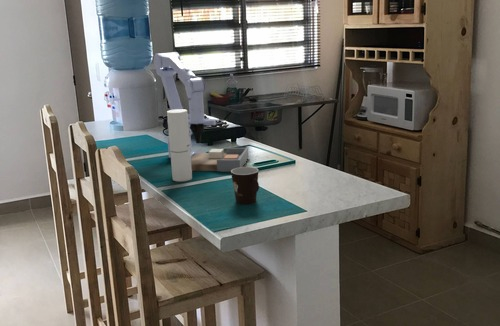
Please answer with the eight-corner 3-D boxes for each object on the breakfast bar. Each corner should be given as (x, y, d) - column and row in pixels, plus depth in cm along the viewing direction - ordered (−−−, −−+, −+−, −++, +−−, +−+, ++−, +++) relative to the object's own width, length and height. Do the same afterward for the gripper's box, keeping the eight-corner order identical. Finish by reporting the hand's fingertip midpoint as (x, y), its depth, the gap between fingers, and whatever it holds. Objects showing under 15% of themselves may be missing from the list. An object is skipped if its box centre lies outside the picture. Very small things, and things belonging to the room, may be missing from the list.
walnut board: (184, 170, 206) (184, 164, 205) (196, 158, 222) (195, 152, 221) (217, 170, 203) (217, 164, 203) (227, 158, 220) (226, 153, 219)
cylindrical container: (195, 176, 198) (191, 109, 191) (185, 182, 191) (180, 113, 185) (179, 174, 200) (174, 108, 194) (168, 180, 194) (163, 112, 187)
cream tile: (209, 158, 212) (208, 152, 212) (211, 154, 217) (211, 148, 216) (221, 158, 211) (220, 152, 211) (224, 154, 216) (223, 148, 215)
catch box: (217, 171, 203) (216, 160, 202) (227, 158, 220) (226, 147, 219) (240, 171, 201) (239, 160, 200) (248, 158, 219) (248, 147, 218)
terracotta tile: (224, 164, 205) (223, 158, 204) (226, 160, 209) (225, 154, 209) (237, 164, 204) (236, 157, 203) (238, 160, 209) (238, 154, 208)
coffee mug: (231, 197, 174) (230, 167, 171) (258, 195, 174) (257, 166, 172) (233, 209, 162) (232, 178, 160) (262, 207, 163) (260, 176, 160)
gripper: (175, 110, 207) (178, 144, 211) (212, 110, 205) (214, 145, 209) (180, 107, 214) (183, 140, 218) (216, 107, 211) (218, 140, 215)
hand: (198, 142), depth 214 cm, fingers closed
